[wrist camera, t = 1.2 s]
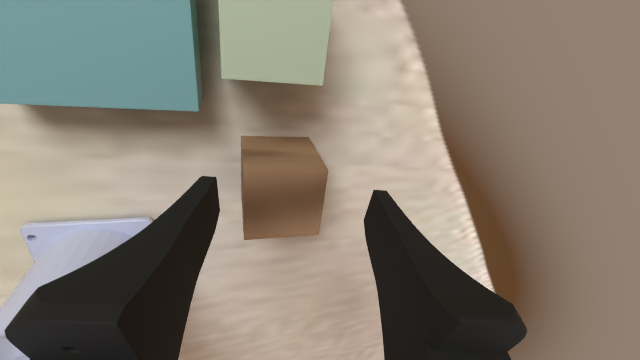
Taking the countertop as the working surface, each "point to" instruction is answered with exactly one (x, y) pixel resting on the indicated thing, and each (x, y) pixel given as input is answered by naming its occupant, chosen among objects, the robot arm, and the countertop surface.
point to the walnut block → (281, 187)
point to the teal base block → (101, 54)
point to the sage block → (274, 40)
